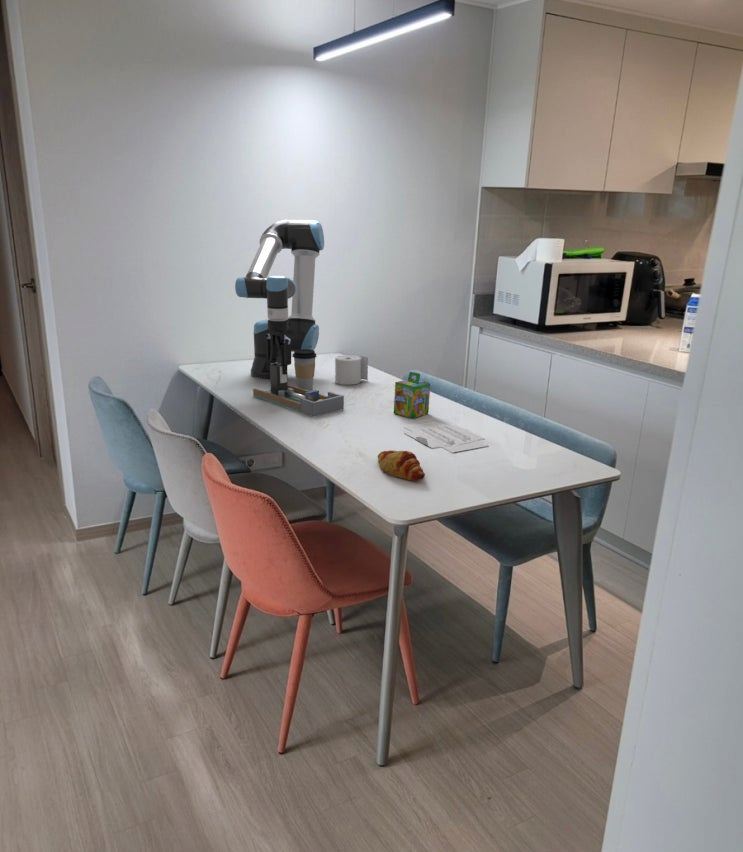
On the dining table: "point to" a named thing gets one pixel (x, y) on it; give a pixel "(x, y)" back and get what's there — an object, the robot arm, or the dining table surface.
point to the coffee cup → (304, 367)
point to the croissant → (401, 465)
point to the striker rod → (278, 386)
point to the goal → (322, 405)
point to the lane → (284, 397)
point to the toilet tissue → (350, 369)
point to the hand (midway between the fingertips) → (279, 381)
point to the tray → (445, 436)
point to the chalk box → (412, 397)
